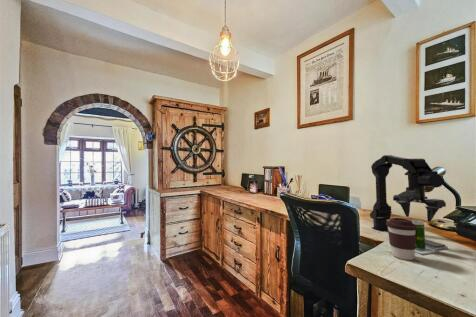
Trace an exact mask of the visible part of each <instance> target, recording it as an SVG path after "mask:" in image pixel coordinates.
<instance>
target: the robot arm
mask: <svg viewBox="0 0 476 317" xmlns="http://www.w3.org/2000/svg"><path fill="white" fill-rule="evenodd" d="M393 165H396V166H399V167H402V168H403V169H404V170H406V172H405V173H404V176H407V183H408V184H407V185H408V186H406V188H405V191H403V192H400V193H398V194H394V195H393V196H392V200H393V201H394V202H395V203H397V204H398V205H400V207H401V209H402V211H403V213H404V215H405V217H407V218H408V217H409V216H410V212H411V210H410V209H411V203H420V204H425V206H424V207H425V209H426V213H427V214H426V218H427V222H429V223H430V222H431V221H432V220H433V218H434V217H435V215H436V214H437V213H438V211H439V210H440V209H442V208H445V207H447V204H446V203H447V202H445V200H444V199H438V198H429V199H428V196H426V191H428V188H427V187H429V188H440V187H442V186H443V184H444V178H443V177H442V175H440V174H439V172H438V171H437V170H436V171H435V170H434V171H433V169H432V168H431V166H430V165H429V164H428V163H427V161H426V159H425V158H406V157H402V156H401V157H400V156H395V155H391V154H390V155H389V154H388V155H387V154H384V155H382V156H381V157H380V158H379V159H377V160H375V161H374V162H373V163H372V164H371V172H372V174H373V176H374V177H375V190H376V191H375V196H376V197H375V198H376V201H375V202H374V204H373V206H372V211H371V212H370V214H369V216H370V219H372V220H373V221H372V222H373V226H371V229H374V230H377V231H380V232H385V231H387V232H388V230H389V229H388V226H387V225H386V222H387V221H390V219H391V218H392V217H391V215H392V213H393V212H392V205H390V204H389V203H388V201H387V176H388V175H389V173H390V170H391V168H393Z"/></svg>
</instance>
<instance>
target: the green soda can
mask: <svg viewBox="0 0 476 317" xmlns="http://www.w3.org/2000/svg"><path fill="white" fill-rule="evenodd" d="M410 220H411V221H412V223H413V224H415V225H417V230H415V234H416V248H415V249H416V250H425V249H426V245H425V239H426V233H425V231H426V230H425V228H426V227H425V223H424V221H423V220H418V219H410Z"/></svg>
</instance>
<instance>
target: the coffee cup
mask: <svg viewBox="0 0 476 317" xmlns="http://www.w3.org/2000/svg"><path fill="white" fill-rule="evenodd" d="M411 220H412V219H408V218H403V217H390V220H387V222H386V225H387V226H388V229H389V230H387V232H388V240H389V245H390V251H391V255H392V256H393V257H394V258H397V259H399V260H400V259H401V260H405V261H413V260H415V254H416V253H415V248H416V234H415V230H417V225H415V224H413V223H412V221H411Z"/></svg>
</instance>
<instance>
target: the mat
mask: <svg viewBox="0 0 476 317" xmlns="http://www.w3.org/2000/svg"><path fill="white" fill-rule="evenodd" d="M437 253H439V254H440V250H433V249H430V248H427V247H426V249H425V250H416V249H415V254H418V255H419V256H425V255H432V254H437Z"/></svg>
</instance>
